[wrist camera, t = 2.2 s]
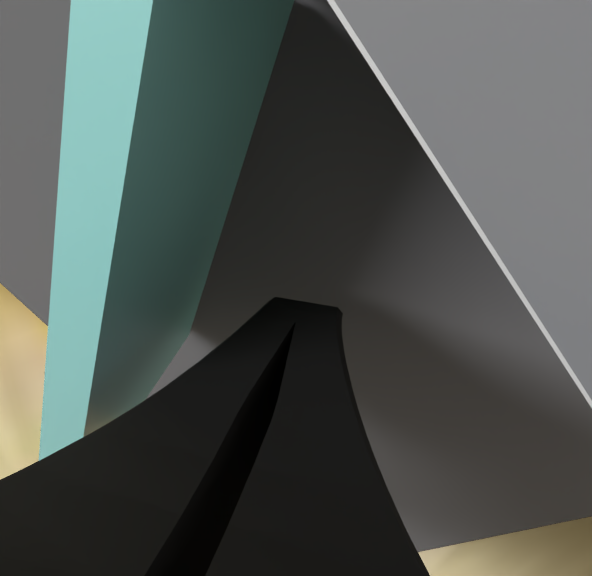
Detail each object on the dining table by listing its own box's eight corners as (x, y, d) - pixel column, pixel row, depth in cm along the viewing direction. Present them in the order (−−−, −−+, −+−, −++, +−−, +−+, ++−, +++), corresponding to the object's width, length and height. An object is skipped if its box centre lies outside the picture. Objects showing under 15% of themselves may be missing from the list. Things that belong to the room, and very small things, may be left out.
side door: (334, -82, 7) (216, -227, 3) (198, 332, 11) (79, 512, 7) (222, -134, 6) (-79, -366, 2) (132, 303, 11) (-23, 468, 7)
